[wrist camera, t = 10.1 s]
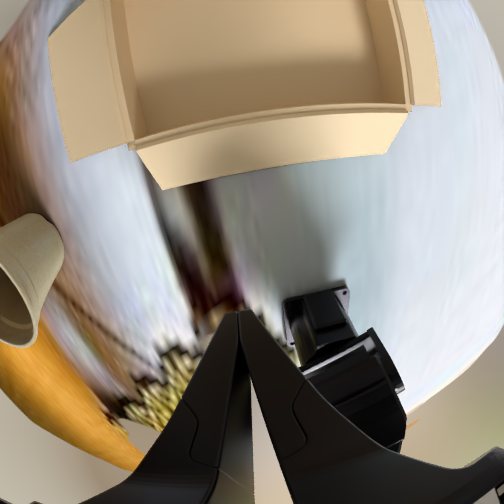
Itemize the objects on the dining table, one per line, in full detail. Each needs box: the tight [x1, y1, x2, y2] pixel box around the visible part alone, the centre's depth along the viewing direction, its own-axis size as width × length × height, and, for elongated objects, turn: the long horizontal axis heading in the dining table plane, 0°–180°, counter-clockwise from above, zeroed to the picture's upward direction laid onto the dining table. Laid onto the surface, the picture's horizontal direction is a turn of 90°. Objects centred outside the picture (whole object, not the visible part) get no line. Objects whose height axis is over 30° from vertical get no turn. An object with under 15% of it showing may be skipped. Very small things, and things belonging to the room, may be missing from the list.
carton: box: [48, 0, 441, 190], centre depth 13 cm, size 16×30×4 cm, turn 98°
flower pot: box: [0, 213, 64, 348], centre depth 16 cm, size 9×9×9 cm
